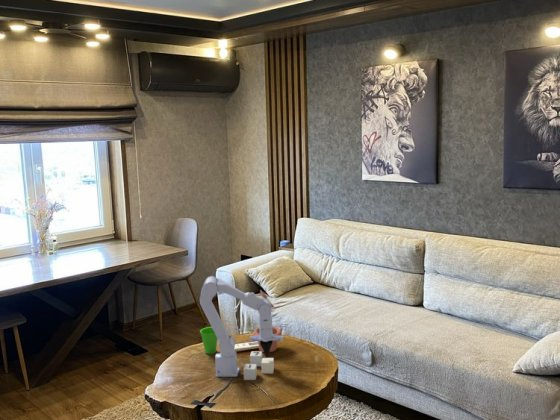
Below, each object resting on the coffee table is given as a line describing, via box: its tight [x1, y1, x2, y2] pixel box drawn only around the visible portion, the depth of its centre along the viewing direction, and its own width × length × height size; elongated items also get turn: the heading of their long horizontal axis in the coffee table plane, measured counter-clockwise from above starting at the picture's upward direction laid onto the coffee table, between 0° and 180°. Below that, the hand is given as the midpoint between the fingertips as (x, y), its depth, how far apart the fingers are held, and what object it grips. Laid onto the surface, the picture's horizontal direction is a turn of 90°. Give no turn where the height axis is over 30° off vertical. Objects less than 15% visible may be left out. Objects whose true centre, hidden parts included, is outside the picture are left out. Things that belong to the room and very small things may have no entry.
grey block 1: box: [243, 363, 258, 381], centre depth 247 cm, size 5×5×5 cm
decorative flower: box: [252, 289, 283, 353], centre depth 272 cm, size 15×14×30 cm
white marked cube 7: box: [249, 350, 263, 367], centre depth 259 cm, size 5×5×5 cm
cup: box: [199, 326, 218, 355], centre depth 274 cm, size 9×9×11 cm
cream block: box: [260, 357, 275, 374], centre depth 252 cm, size 5×5×5 cm
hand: (267, 356), depth 251 cm, fingers closed
